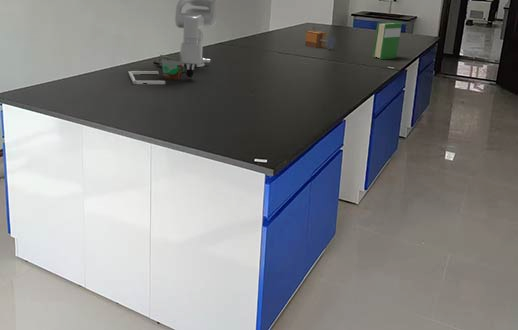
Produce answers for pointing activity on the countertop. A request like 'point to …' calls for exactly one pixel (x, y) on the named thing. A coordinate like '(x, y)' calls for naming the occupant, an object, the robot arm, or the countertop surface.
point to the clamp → (318, 39)
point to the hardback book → (387, 40)
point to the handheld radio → (170, 59)
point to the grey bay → (144, 81)
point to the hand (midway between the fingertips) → (189, 76)
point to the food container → (171, 69)
